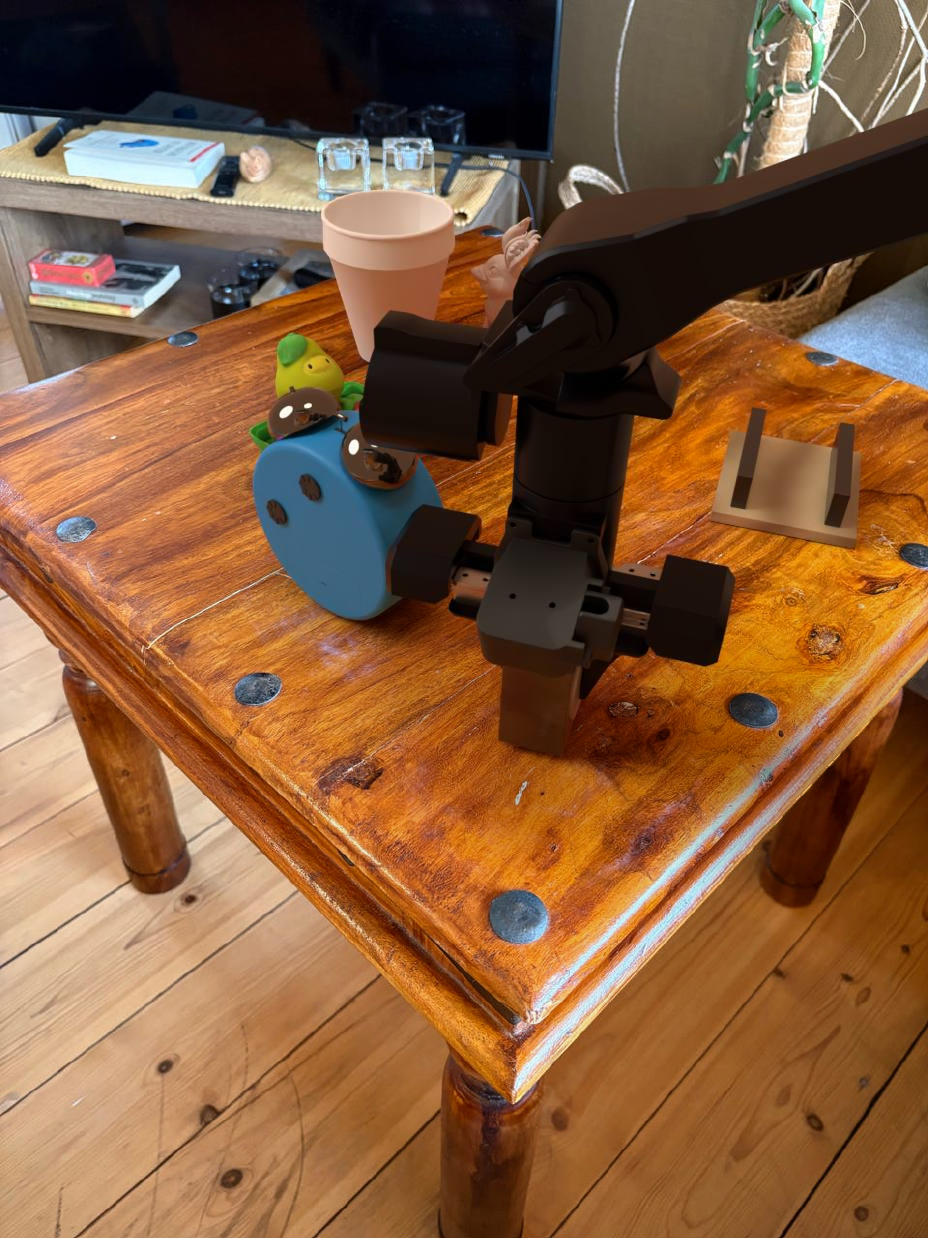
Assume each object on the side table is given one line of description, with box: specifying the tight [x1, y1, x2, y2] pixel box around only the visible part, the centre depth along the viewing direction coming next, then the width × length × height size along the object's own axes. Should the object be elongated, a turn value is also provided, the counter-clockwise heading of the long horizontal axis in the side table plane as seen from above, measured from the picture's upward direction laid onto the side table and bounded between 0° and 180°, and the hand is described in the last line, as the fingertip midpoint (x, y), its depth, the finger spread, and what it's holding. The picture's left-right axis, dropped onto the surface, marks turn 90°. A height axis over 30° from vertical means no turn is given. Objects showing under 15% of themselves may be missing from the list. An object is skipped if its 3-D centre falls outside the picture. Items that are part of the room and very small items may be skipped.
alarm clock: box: [252, 386, 444, 621], centre depth 66 cm, size 13×6×15 cm, turn 49°
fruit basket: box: [248, 331, 365, 454], centre depth 79 cm, size 11×9×11 cm
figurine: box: [470, 216, 542, 328], centre depth 96 cm, size 8×15×13 cm, turn 100°
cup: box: [320, 188, 456, 363], centre depth 95 cm, size 12×12×14 cm
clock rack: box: [709, 406, 862, 550], centre depth 80 cm, size 11×13×4 cm
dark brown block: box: [497, 665, 585, 758], centre depth 60 cm, size 4×7×7 cm, turn 162°
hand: (547, 686), depth 61 cm, fingers closed on dark brown block, 4 cm apart
